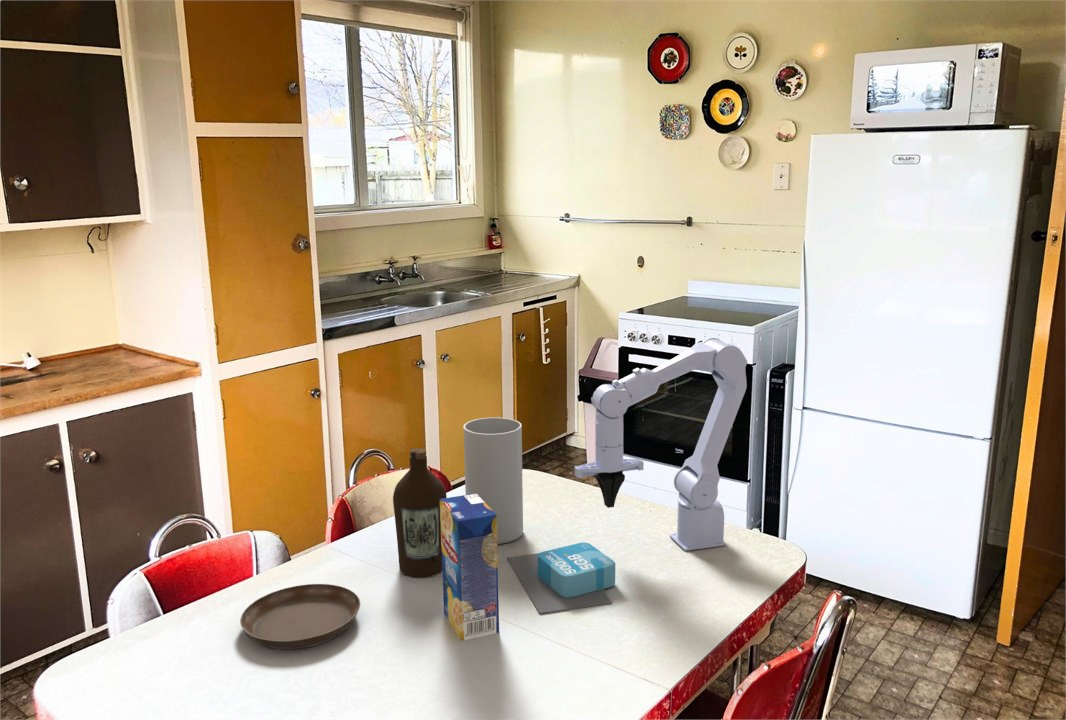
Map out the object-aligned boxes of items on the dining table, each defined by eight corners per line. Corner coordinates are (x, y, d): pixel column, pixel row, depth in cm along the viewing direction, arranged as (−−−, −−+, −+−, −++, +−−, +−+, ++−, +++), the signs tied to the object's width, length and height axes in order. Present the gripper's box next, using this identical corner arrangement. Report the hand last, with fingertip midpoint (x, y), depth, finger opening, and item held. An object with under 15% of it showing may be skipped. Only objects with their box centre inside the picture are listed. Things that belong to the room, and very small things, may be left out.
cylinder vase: (458, 528, 194) (455, 422, 189) (509, 518, 199) (507, 414, 194) (479, 550, 183) (476, 437, 178) (532, 539, 188) (531, 429, 183)
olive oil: (396, 558, 180) (391, 443, 174) (447, 554, 181) (443, 441, 176) (396, 581, 169) (389, 460, 164) (450, 577, 171) (445, 457, 165)
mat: (571, 550, 182) (571, 548, 182) (611, 603, 160) (612, 601, 160) (507, 558, 179) (507, 557, 179) (539, 614, 156) (539, 613, 156)
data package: (618, 563, 165) (564, 577, 160) (618, 585, 166) (564, 600, 161) (586, 540, 176) (534, 553, 170) (586, 561, 176) (534, 574, 171)
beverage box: (479, 604, 160) (476, 493, 155) (499, 633, 150) (496, 514, 145) (443, 611, 158) (439, 498, 153) (461, 641, 148) (458, 521, 143)
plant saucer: (223, 623, 155) (222, 606, 154) (328, 587, 168) (327, 571, 167) (270, 672, 140) (269, 654, 139) (382, 629, 152) (381, 612, 152)
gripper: (634, 434, 182) (633, 494, 185) (569, 441, 178) (569, 503, 181) (648, 444, 175) (647, 506, 178) (580, 451, 171) (581, 515, 174)
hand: (609, 505), depth 179 cm, fingers closed
